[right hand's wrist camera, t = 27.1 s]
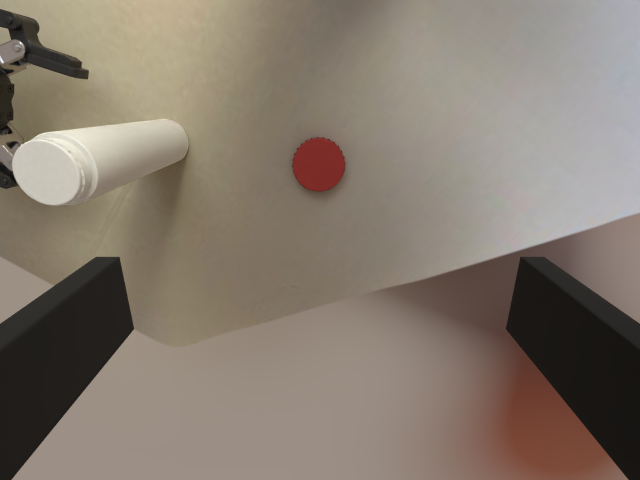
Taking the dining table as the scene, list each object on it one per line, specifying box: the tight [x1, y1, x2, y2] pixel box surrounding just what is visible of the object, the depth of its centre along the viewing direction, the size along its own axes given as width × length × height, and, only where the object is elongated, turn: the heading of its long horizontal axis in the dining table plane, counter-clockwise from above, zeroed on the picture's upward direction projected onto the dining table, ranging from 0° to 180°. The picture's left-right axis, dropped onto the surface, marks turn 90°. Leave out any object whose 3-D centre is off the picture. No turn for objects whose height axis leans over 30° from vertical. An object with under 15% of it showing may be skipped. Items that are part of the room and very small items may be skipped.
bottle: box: [12, 119, 189, 206], centre depth 31 cm, size 4×4×19 cm
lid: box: [292, 137, 345, 191], centre depth 39 cm, size 6×6×2 cm
